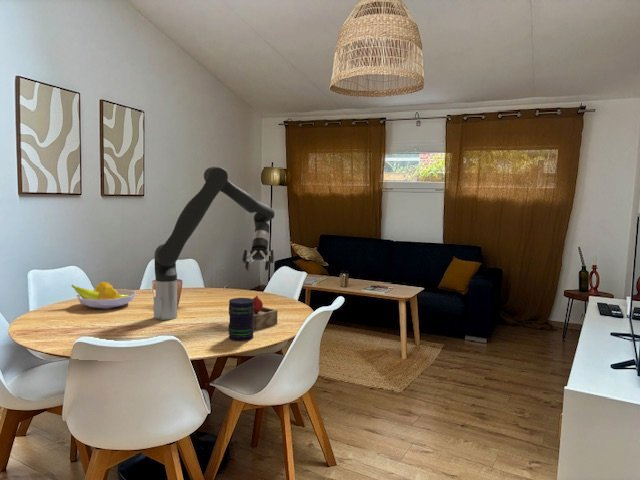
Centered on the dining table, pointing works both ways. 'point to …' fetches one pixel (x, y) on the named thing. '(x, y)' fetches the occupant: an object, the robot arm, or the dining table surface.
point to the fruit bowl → (104, 296)
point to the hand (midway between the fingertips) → (256, 269)
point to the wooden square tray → (265, 318)
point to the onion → (257, 305)
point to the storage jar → (241, 319)
